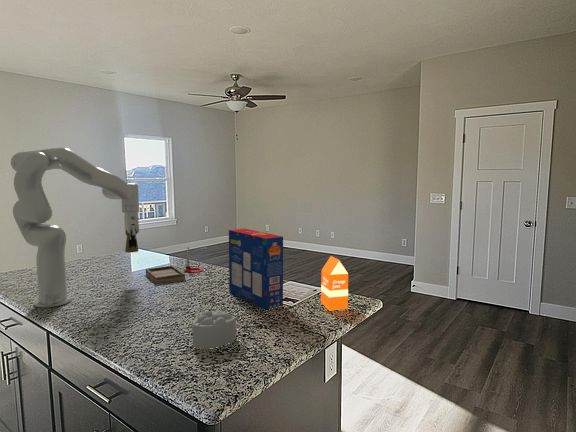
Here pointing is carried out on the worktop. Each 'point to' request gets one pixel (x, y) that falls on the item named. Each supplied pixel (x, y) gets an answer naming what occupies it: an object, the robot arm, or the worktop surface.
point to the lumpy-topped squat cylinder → (213, 329)
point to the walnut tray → (165, 274)
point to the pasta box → (256, 267)
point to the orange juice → (334, 285)
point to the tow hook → (191, 267)
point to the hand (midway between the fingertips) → (131, 246)
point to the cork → (128, 244)
